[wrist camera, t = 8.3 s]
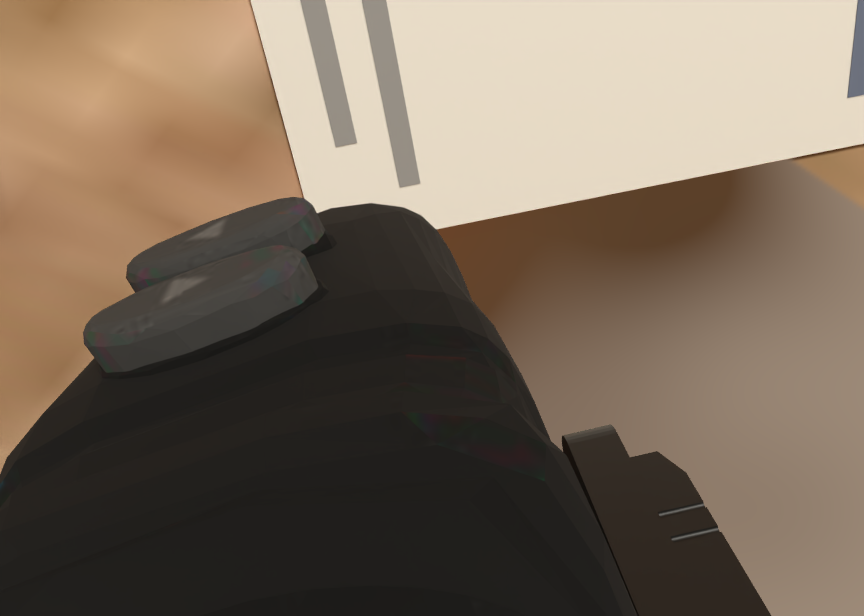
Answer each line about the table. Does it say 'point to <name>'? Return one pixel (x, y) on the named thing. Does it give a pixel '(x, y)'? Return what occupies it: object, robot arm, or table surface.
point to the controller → (298, 442)
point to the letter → (553, 95)
